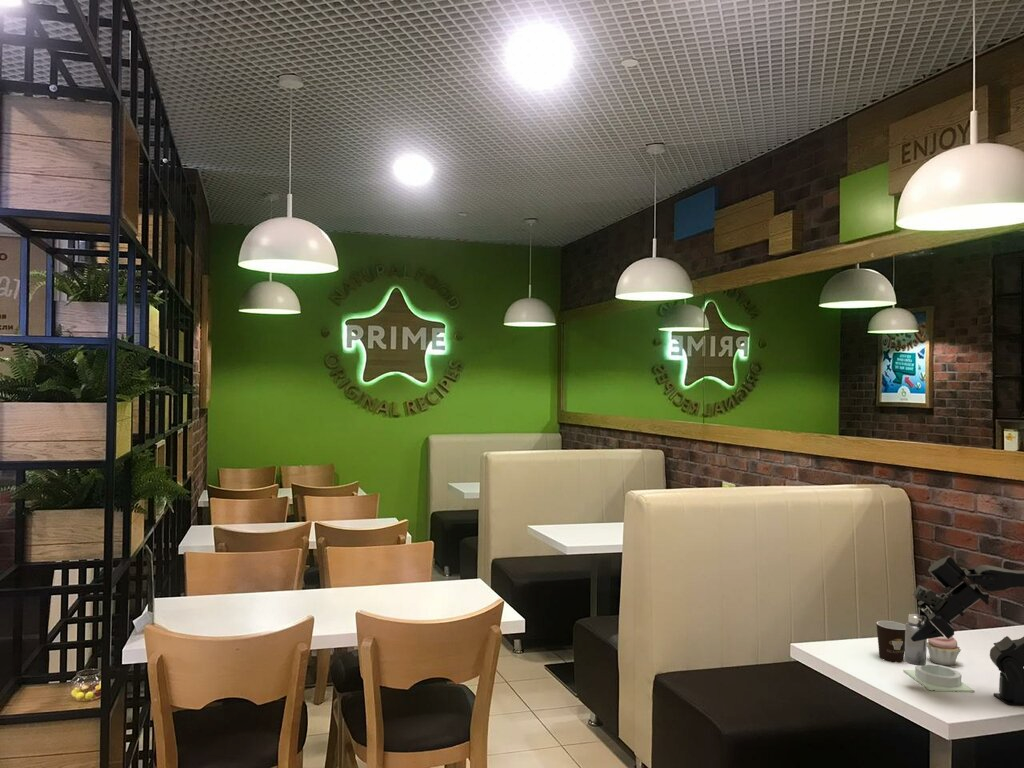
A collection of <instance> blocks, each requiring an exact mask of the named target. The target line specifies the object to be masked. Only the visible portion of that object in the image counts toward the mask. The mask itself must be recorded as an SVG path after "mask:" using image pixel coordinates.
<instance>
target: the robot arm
mask: <svg viewBox="0 0 1024 768" xmlns="http://www.w3.org/2000/svg"><path fill="white" fill-rule="evenodd" d="M927 571H928V572H929V574H930V575H932V577H934V578H935V579H936V580H937V582H938V583H939V584H940V585H942V587H943V588H944V589H945V588H946V589H947V588H950V589H951V590H950V591H949V592H947V593H945V592H941V593H940V594H939V595H938V594H937V593H936V592H935V591H933V590H932V589H931V588H929V589H927V588H926V587H924V586H922V585H919V584H917V586H916V589H915V590H914V592H913V594H912V595H913V596H914V598H915V599H916V600H918V602H917V605H919V606H918V608H917V609H918V615H922V616H924V624H923V625H922V626H921V627H920V628H919V629H918V631H917V632H916V633H915V634H914V635H913V636H912V637H911V640H912V641H913V642H915V641H920V640H925V639H927V640H928V639H930V638H936V637H944V635H945V636H946V637H947V638H948V639H949V638H950V637H952V636H954V635H955V629H954V627H953V626H952V624H953V623H952V622H953V621H954V620H955V619H956V618H957V617H959V616H961V617H963V616H965V615H966V614H965V612H966V611H967V610H968V609H970V608H971V607H972V606H973V605H974V604H976V603H978V602H979V601H980V600H981V601H982V602H983V603H984V604H985V605H986V606H989V605H990V599H989V598H990V594H989V593H988V592H1001V591H1005V590H1009V589H1013V588H1024V570H1020V569H1019V570H1018V569H1015V570H1014V569H1013V570H1012V569H1008V568H1004V567H999V566H994V565H988V564H987V565H986V564H981V565H978V566H977V567H975V568H962V567H960V565H958V564H957V563H956V561H955V559H953V557H952V556H950V555H946V557H943V558H941V559H938V560H936V561H934V563H932V564H931V565H930V566H929V567H928V570H927ZM965 578H966V579H967V580H968V581H970V583H971V584H969V583H968V582H967V581H966V580H965ZM977 585H978V586H977ZM979 587H980V588H979ZM981 588H982V589H983V590H984V591H986V592H983V591H982V590H981ZM942 633H943V634H944V635H943V634H942ZM993 645H994V646H992V647H991V648H990V650H989V658H990V660H991V662H992V664H994V665H995V667H996V668H997V669H998V671H1000V673H999V682H998V683H999V684H998V686H999V687H998V691H999V692H995V693H993V696H995V697H996V698H997V699H999V700H1000V701H1002V702H1003V703H1005V704H1007V705H1008V704H1009V706H1024V636H1022V637H1021V638H1018V639H1017V638H1016V639H1011V638H1010V637H1009V636H1008V635H1006V636H1004V637H1003V638H1002V639H1001V640H1000V641H997V642H994V643H993Z"/></svg>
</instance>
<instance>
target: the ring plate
mask: <svg viewBox="0 0 1024 768" xmlns="http://www.w3.org/2000/svg"><path fill="white" fill-rule="evenodd" d="M914 666H915V667H914V669H903V671H904V672H903V673H905V674H906V673H907V674H906V675H908V676H909V677H910V676H911V677H910V678H912V679H913V678H914V679H915V681H916V682H917V681H918V682H919V683H918V682H917V683H918V684H920V685H921V684H922V685H923V687H924V688H925V687H926V688H927V689H926V688H925V689H926V690H928V691H929V690H935V691H934V692H952V691H953V693H954V692H955V691H957V692H955V693H975V689H973V688H972V687H970V686H969V685H967V684H965V683H964V682H963V681H962V674H961V672H959V671H958V670H956V669H954V668H952V667H950V666H947V665H940V664H937V663H935V664H934V663H927V662H926V665H924V666H918V665H914ZM914 679H913V680H914ZM922 685H921V686H922Z"/></svg>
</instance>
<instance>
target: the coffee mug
mask: <svg viewBox="0 0 1024 768" xmlns="http://www.w3.org/2000/svg"><path fill="white" fill-rule="evenodd" d="M876 632H877V633H876V634H877V635H876V636H877V644H878V655H879V658H880V659H881V660H883V659H884V660H883V661H886V662H889V661H891V662H890V663H902V661H903V662H904V658H905V624H904V623H901V622H897V621H891V620H879V621H876Z"/></svg>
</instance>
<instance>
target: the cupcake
mask: <svg viewBox="0 0 1024 768" xmlns="http://www.w3.org/2000/svg"><path fill="white" fill-rule="evenodd" d="M942 634H943V633H942ZM943 635H944V634H943ZM953 636H954V635H953ZM953 636H952V637H950V638H949V639H948V638H947V637H946V636H945V635H944V637H936V638H930V639H927V651H928V655H929V659H930V661H932V663H933V664H934V663H935V664H937V665H942V666H946V667H950V666H951V667H952V666H954V665H956V662H957V659H958V655H959V654H960V653H961V650H962V649H961V648H960V647H959V646H958V641H957V640H956V638H955V637H953Z"/></svg>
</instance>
